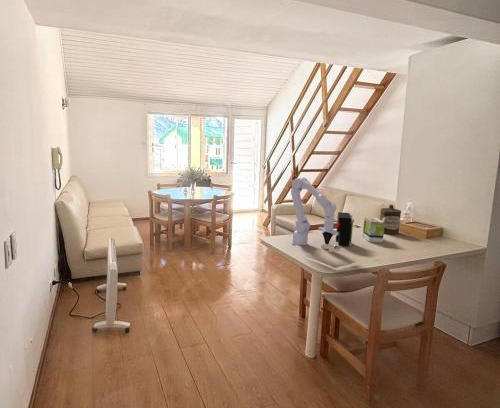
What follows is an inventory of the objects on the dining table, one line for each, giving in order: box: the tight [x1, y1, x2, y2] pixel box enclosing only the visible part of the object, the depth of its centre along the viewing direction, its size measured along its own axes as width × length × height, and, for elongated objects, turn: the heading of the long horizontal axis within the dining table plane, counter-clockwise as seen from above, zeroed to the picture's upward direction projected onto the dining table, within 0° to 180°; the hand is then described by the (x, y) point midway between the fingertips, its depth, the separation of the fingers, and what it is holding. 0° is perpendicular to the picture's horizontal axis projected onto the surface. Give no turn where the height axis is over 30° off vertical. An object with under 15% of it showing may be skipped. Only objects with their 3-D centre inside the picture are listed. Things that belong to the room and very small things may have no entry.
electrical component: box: [335, 211, 355, 247], centre depth 232 cm, size 18×10×20 cm, turn 168°
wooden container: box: [379, 204, 402, 236], centre depth 270 cm, size 15×15×22 cm
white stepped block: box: [327, 246, 335, 253], centre depth 214 cm, size 4×3×3 cm
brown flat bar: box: [322, 243, 338, 251], centre depth 219 cm, size 4×11×1 cm, turn 127°
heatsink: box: [320, 243, 342, 252], centre depth 219 cm, size 11×13×3 cm
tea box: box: [362, 217, 385, 243], centre depth 248 cm, size 15×10×15 cm
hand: (326, 243), depth 217 cm, fingers closed
